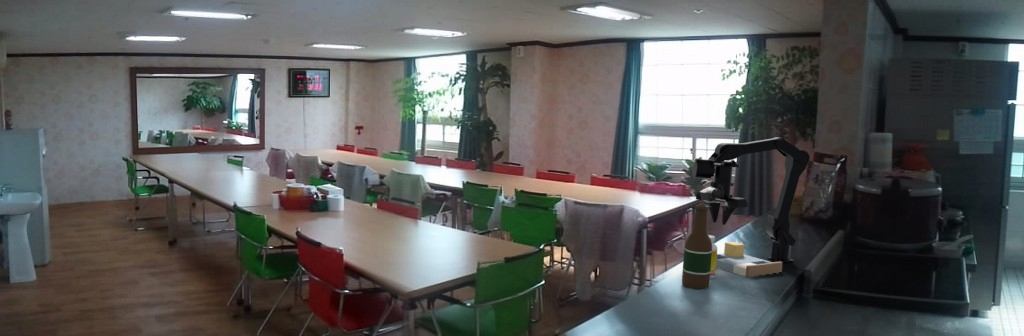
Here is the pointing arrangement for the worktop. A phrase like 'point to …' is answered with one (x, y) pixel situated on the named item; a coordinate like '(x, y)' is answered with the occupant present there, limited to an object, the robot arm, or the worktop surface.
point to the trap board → (747, 265)
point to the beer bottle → (697, 253)
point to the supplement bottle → (713, 257)
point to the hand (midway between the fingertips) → (719, 223)
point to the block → (734, 249)
